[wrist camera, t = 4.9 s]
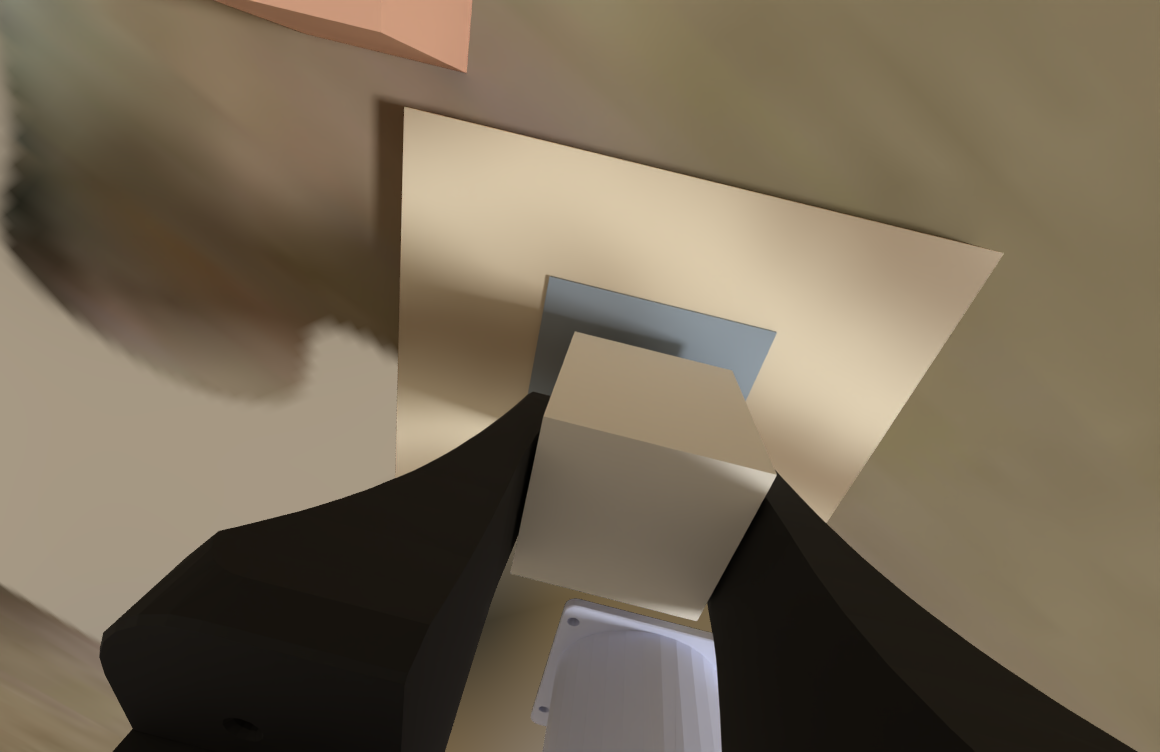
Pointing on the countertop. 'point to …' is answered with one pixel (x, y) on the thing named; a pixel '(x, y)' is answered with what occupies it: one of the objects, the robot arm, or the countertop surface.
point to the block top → (378, 25)
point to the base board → (658, 295)
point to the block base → (641, 478)
